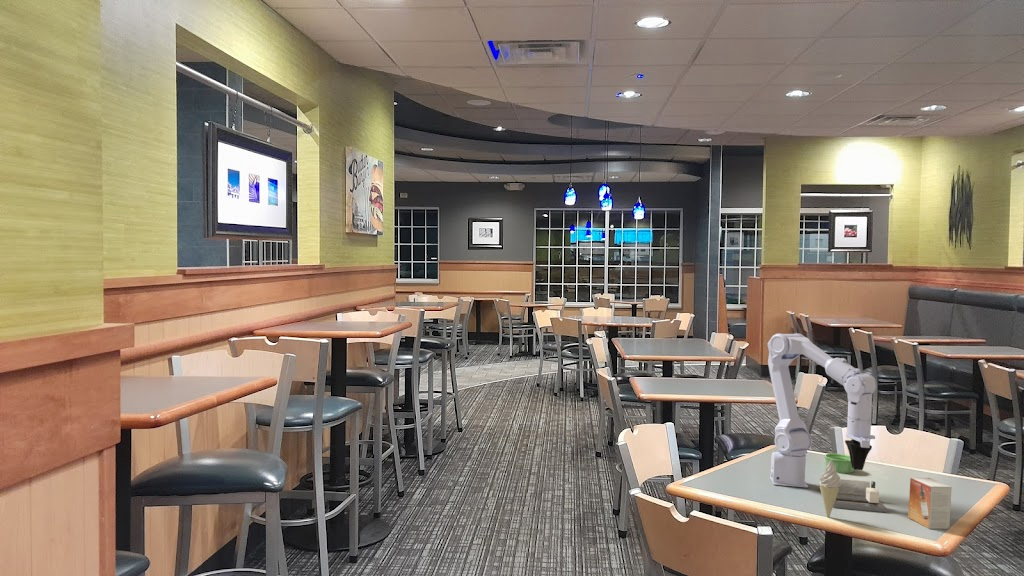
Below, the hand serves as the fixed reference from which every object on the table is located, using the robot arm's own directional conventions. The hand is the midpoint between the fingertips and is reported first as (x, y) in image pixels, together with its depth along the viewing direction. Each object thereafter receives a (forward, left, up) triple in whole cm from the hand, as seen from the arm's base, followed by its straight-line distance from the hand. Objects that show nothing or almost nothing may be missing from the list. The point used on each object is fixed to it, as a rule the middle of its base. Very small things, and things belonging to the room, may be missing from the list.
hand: (857, 468), depth 193 cm
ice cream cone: (-10, -15, -10) cm, 20 cm away
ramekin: (+4, +37, -10) cm, 38 cm away
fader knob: (+4, -2, -8) cm, 9 cm away
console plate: (0, +3, -9) cm, 10 cm away
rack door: (-1, +5, -8) cm, 9 cm away
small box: (+14, -12, -10) cm, 21 cm away
